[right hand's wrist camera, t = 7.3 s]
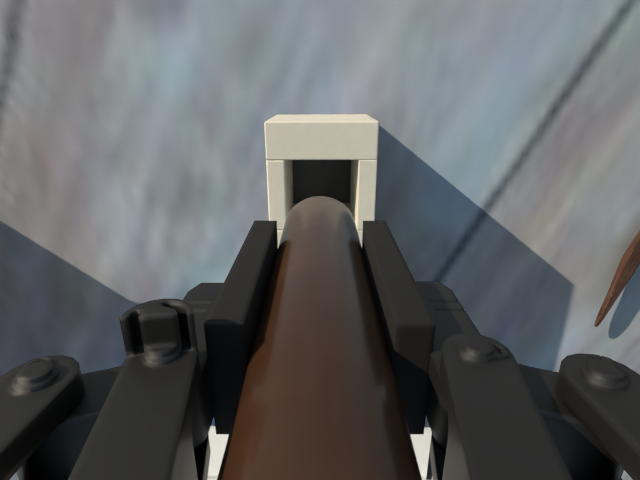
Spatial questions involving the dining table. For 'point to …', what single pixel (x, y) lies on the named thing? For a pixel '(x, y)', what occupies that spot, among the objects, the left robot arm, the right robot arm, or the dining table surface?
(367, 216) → the peg block
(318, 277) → the walnut peg
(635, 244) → the fork
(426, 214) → the dining table surface
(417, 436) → the left robot arm
